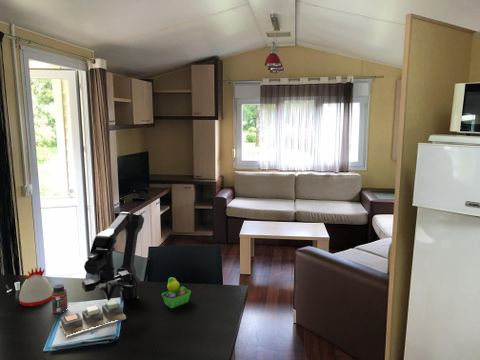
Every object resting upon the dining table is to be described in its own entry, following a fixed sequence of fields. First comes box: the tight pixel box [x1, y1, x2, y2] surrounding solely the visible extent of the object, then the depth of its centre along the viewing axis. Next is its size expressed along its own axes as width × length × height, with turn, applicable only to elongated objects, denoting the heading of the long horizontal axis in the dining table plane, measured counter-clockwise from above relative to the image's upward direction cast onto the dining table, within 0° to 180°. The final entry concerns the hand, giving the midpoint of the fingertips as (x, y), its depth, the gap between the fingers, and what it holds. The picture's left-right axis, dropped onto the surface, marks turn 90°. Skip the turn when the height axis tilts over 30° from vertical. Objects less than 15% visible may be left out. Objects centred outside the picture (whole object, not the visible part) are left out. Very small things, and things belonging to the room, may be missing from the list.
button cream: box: [85, 304, 100, 316], centre depth 154 cm, size 4×4×3 cm
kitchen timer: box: [18, 266, 54, 307], centre depth 174 cm, size 14×14×15 cm
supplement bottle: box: [51, 283, 69, 315], centre depth 163 cm, size 6×6×11 cm
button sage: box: [105, 299, 119, 310], centre depth 159 cm, size 4×4×3 cm
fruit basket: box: [161, 276, 192, 309], centre depth 170 cm, size 11×9×11 cm
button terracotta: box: [65, 313, 78, 323], centre depth 150 cm, size 4×4×3 cm
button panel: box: [58, 302, 127, 337], centre depth 155 cm, size 23×12×4 cm, turn 127°
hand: (108, 300), depth 158 cm, fingers closed
